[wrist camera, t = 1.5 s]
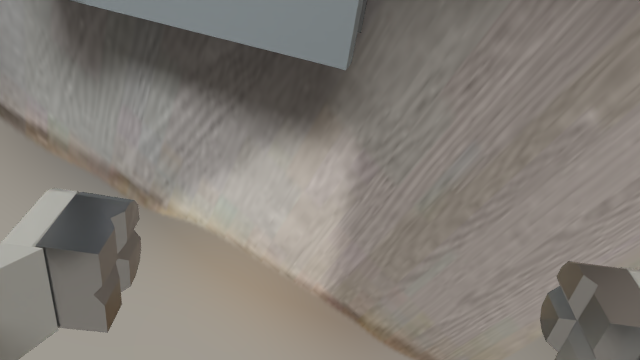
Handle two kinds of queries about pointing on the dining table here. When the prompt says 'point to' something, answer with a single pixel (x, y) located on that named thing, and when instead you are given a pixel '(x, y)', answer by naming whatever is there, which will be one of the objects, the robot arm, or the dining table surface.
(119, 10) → the tilted grey plate
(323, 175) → the dining table surface
